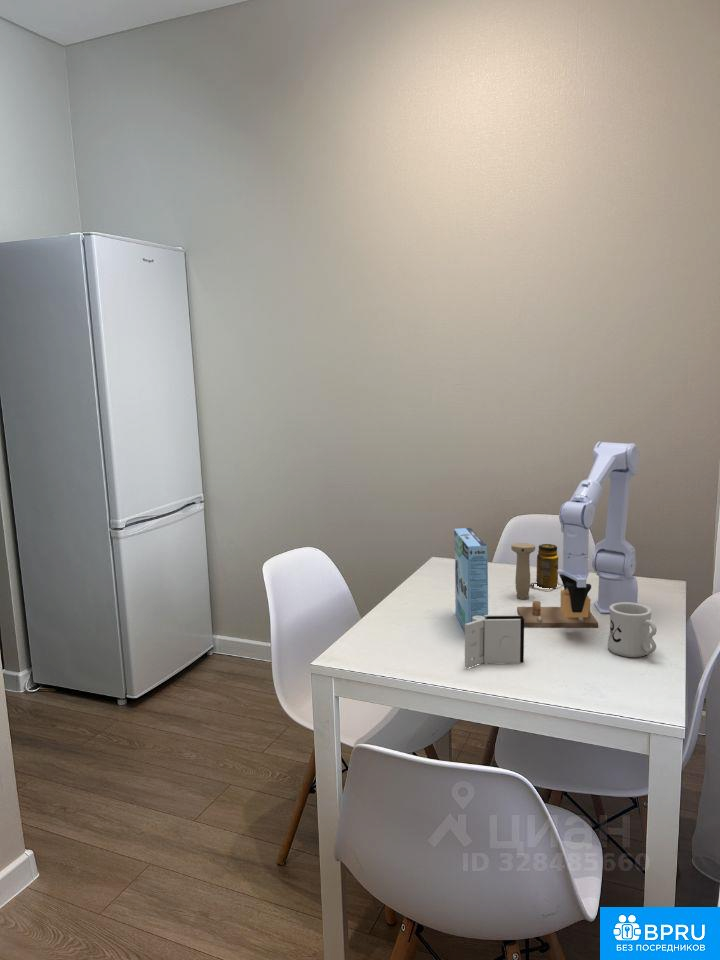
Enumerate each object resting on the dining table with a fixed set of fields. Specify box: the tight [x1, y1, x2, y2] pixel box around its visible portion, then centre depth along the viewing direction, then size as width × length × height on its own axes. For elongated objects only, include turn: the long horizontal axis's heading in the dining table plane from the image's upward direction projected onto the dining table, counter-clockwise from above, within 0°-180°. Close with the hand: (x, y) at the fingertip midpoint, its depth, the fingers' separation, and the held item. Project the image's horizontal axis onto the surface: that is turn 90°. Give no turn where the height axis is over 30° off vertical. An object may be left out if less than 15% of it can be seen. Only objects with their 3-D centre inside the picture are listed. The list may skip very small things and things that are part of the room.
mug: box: [607, 602, 658, 658], centre depth 166 cm, size 12×9×10 cm
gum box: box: [453, 527, 489, 632], centre depth 184 cm, size 20×5×23 cm, turn 2°
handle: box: [510, 542, 536, 600], centre depth 205 cm, size 5×6×15 cm
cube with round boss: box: [559, 588, 590, 617], centre depth 177 cm, size 5×5×6 cm
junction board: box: [516, 597, 599, 629], centre depth 189 cm, size 18×12×7 cm, turn 86°
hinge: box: [464, 614, 525, 668], centre depth 163 cm, size 14×5×10 cm, turn 101°
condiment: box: [530, 543, 563, 592], centre depth 216 cm, size 7×8×12 cm
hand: (574, 607), depth 177 cm, fingers closed on cube with round boss, 5 cm apart
